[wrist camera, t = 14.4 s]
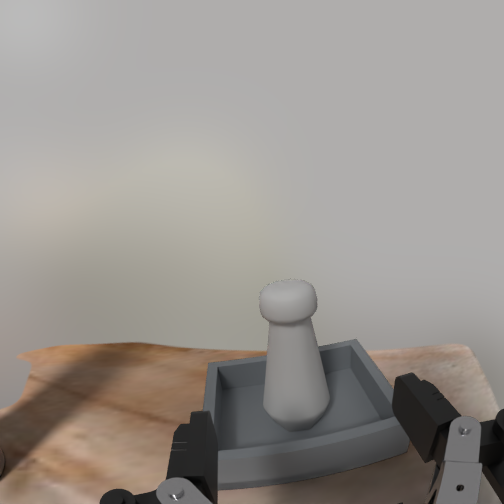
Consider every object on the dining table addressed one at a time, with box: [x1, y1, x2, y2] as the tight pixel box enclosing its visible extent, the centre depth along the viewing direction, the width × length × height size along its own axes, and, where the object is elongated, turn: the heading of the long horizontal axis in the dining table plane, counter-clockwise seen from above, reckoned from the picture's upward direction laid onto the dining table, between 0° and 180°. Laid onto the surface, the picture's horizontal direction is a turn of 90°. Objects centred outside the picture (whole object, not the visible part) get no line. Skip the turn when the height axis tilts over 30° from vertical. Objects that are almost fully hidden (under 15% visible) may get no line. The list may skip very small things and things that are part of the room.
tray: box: [203, 339, 410, 490], centre depth 26 cm, size 16×14×4 cm
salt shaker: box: [259, 279, 330, 432], centre depth 25 cm, size 6×6×13 cm
